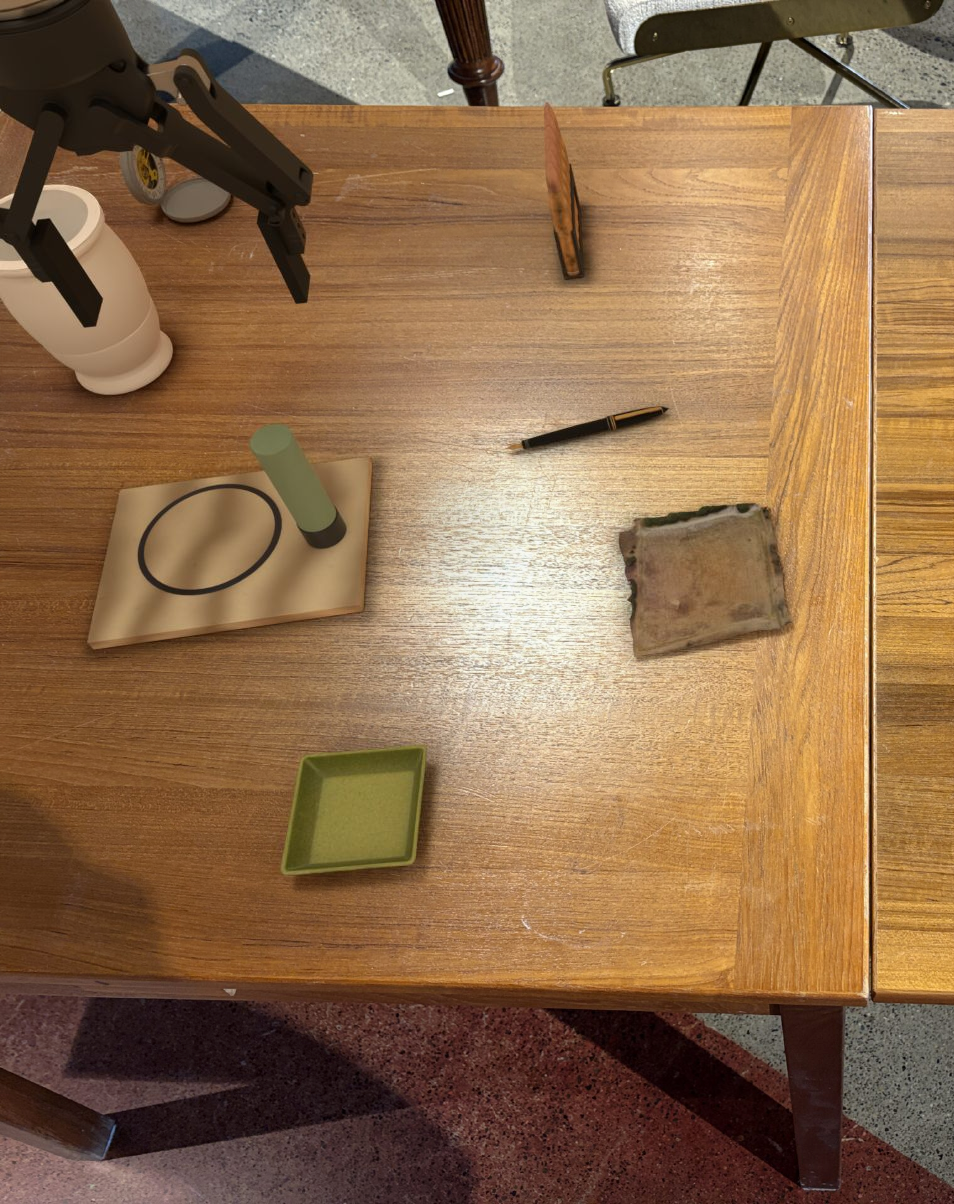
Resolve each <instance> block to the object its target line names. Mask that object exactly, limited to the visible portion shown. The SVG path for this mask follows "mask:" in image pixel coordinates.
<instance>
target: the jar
mask: <svg viewBox="0 0 954 1204" xmlns="http://www.w3.org/2000/svg"><path fill="white" fill-rule="evenodd" d="M14 193H15V192H13V193H11V194H8V195H6V196H4V197H1V198H0V208H7V209H9V208H10V205H11V202H12V199H13V196H14ZM46 218H50V219H51V221H52V222H53V224H54V225H55V227H56V228H57V230H58V231H59V233H60V234H61V236H62V237H63V239H64V240H65V242H66V243H67V245H68V246H69V248H70V249H71V251H72V252H73V254H74V255H75V257H76V258H77V260H78V261H79V263H80V264H81V266H82V267H83V269H84V270H85V272H86V273H87V275H88V276H89V278H90V279H91V281H92V283H93V284H94V286H95V287H96V289H97V290H98V292H99V293H100V295H101V296H102V298H103V302H102V305H101V309H100V313H99V317H98V321H97V325H96V327H87V328H84V327H83V325H82V324H81V323H80V321H79V320H78V318H77V317H76V315H75V314H74V313H73V311H72V310H71V308H70V307H69V305H68V304H67V303H66V301H65V300H64V298H63V297H62V295H61V294H60V293H59V291H58V290H57V288H56V287H55V285H54V284H53V283H52V282H45V283H42V282H41V281H39V280H38V279H37V278H36V277H34V275H33V274H32V272H31V271H30V269H29V268H28V267H27V265H26V264H25V262H24V261H23V260H22V258H21V257H20V255H19V254H18V253H17V251H16V250H15V248H14V247H13V246H12V245H10V244H8V243H6V242H5V241H4V240H3V239H0V300H1V301H2V303H3V304H4V307H6V309H7V311H8V312H9V313H10V314H11V316H12V317H13V318H14V319H15V320H16V321H17V323H18V324H19V325H20V326H21V327H22V328H23V329H24V330H25V331H26V332H27V333H28V334H29V335H30V336H31V337H32V338H33V339H34V340H35V341H36V342H38V343H39V344H40V345H41V346H42V347H43V348H44V349H45V350H46V351H47V352H48V353H49V354H50V355H51V356H53V358H55V359H56V360H57V361H59V362H60V363H61V364H63V365H64V366H66V367H67V368H69V369H71V370H72V371H74V373H75V377H76V380H77V381H78V382H79V384H80V385H81V386H82V387H83V388H84V389H86V390H87V391H89V392H91V393H94V394H99V395H104V396H105V395H106V396H113V395H114V396H116V395H123V394H127V393H132V392H134V391H137V390H139V389H142V388H144V387H146V386H148V385H149V384H151V383H153V382H154V381H155V380H156V379H157V378H159V377H160V376H161V375H162V374H163V373H164V372H165V371H166V369H167V368H168V366H169V365H170V363H171V361H172V358H173V353H174V348H173V343H172V340H171V339H170V338H169V336H168V335H167V334H166V333H165V332H164V331H162V330H161V327H160V319H159V314H158V310H157V308H156V305H155V303H154V300H153V298H152V295H151V294H150V292H149V289H148V285H147V282H146V281H145V278H144V276H143V273H142V272H141V269H140V268H139V265H138V263H137V262H136V260H135V258H134V257H133V255H132V253H131V252H130V251H129V249H128V248H127V246H126V245H125V244H124V242H123V241H122V239H121V238H120V237H119V236H118V235H117V234H116V232H114V230H113V229H112V228H111V227H110V226H109V225H108V224H107V223H106V219H105V213H104V210H103V208H102V206H101V205H100V203H99V201H98V199H97V198H96V197H95V196H94V195H93V194H92V193H90V192H89V191H88V190H86V189H84V188H81V187H78V186H74V185H70V184H69V185H68V184H44V187H43V190H42V193H41V196H40V199H39V201H38V204H37V207H36V210H35V213H34V216H33V219H32V221H33V223H34V224H35V225H36V222H37V219H46Z"/></svg>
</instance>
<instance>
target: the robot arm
mask: <svg viewBox="0 0 954 1204" xmlns="http://www.w3.org/2000/svg"><path fill="white" fill-rule="evenodd" d="M159 91H160V92H161V91H162V92H166V93H168V94H170V95H171V96H172V97H173V98H174V99H175V102H176V103H177V104H178V105H179V106H180V107H186V106H188V108H189V109H190V111H191V112H192V113H193V114H194V115H195V117H197V119H198V120H200V122H202V124H204V126H206V127H207V128H208V129H209V130H210V131H211V132H213V133H214V134H215V135H216V136H217V137H218V138H219V139H220V140H221V141H220V140H219V139H217V138H216V137H214V136H212V135H211V134H210V133H207V132H206V131H204V130H202V129H201V128H199V127H198V126H196V125H194V124H193V123H191V122H190V121H188V120H186V119H185V118H184V117H183V115H182V113H181V112H180V111H179V110H178V109H177V108H176V107H174V106H172V105H171V104H170V103H168V102H166V101H165V100H163V99H161V98H160V97H159V96H157V94H158V92H159ZM0 111H2V112H3V113H4V114H5V115H7V116H9V117H10V118H12V119H14V120H15V121H17V122H18V123H20V124H21V125H24V126H25V127H27V128H28V129H30V130H31V131H33V134H32V137H31V140H30V144H29V147H28V150H27V153H26V156H25V159H24V162H23V166H22V168H21V172H20V175H19V178H18V181H17V183H16V187H15V190H14V192H13V193H14V196H13V199H12V202H11V205H10V208H9V209H7V208H0V239H3V240H4V241H5V242H6V243H8V244H10V245H12V246H13V247H14V248H15V250H16V251H17V253H18V254H19V255H20V257H21V258H22V260H23V261H24V262H25V264H26V265H27V267H28V268H29V269H30V271H31V272H32V274H33V275H34V277H36V278H37V279H38V280H39V281H41V282H42V283H45V282H52V283H53V284H54V285H55V287H56V288H57V290H58V291H59V293H60V294H61V295H62V297H63V298H64V300H65V301H66V303H67V304H68V305H69V307H70V308H71V310H72V311H73V313H74V314H75V315H76V317H77V318H78V320H79V321H80V323H81V324H82V325H83V327H84V328H87V327H96V325H97V321H98V317H99V313H100V309H101V305H102V302H103V298H102V296H101V295H100V293H99V292H98V290H97V289H96V287H95V286H94V284H93V283H92V281H91V279H90V278H89V276H88V275H87V273H86V272H85V270H84V269H83V267H82V266H81V264H80V263H79V261H78V260H77V258H76V257H75V255H74V254H73V252H72V251H71V249H70V248H69V246H68V245H67V243H66V242H65V240H64V239H63V237H62V236H61V234H60V233H59V231H58V230H57V228H56V227H55V225H54V224H53V222H52V221H51V219H50V218H46V219H37V222H36V225H35V224H34V223H33V221H32V219H33V216H34V213H35V210H36V207H37V204H38V201H39V199H40V196H41V193H42V190H43V187H44V185H46V181H47V178H48V176H49V172H50V170H51V166H52V164H53V160H54V158H55V154H56V152H57V149H58V147H59V148H60V149H63V150H66V151H68V152H72V153H75V154H76V156H77V157H85V156H86V157H87V156H92V155H95V154H98V153H100V152H105V151H107V152H113V153H120V152H126V151H133V149H134V146H136V145H138V146H140V147H141V148H143V149H145V150H147V151H148V152H150V153H152V154H153V155H155V156H157V157H159V158H162V159H164V158H168V159H171V161H174V162H176V163H177V164H179V165H181V166H182V167H184V168H186V169H188V170H189V171H191V172H193V173H194V174H196V175H198V177H203V178H205V179H206V180H208V181H210V182H211V183H213V184H215V185H216V186H218V187H220V188H222V189H223V190H225V191H227V192H228V193H230V194H231V196H233V197H235V198H237V199H238V200H240V201H242V202H244V203H245V204H247V205H248V206H250V207H252V208H254V209H255V210H258V211H257V212H258V213H257V219H256V226H257V228H258V229H259V231H260V234H261V235H262V238H263V239H264V241H265V244H266V246H267V248H268V250H269V252H270V254H271V256H272V258H273V260H274V263H275V264H276V266H277V268H278V270H279V272H280V275H281V277H282V278H283V280H284V283H285V285H286V287H287V289H288V291H289V294H290V295H291V297H292V299H293V301H294V303H295V305H301V304H308V301H309V291H310V283H311V274H310V271H309V270H308V267H307V265H306V263H305V261H304V259H303V256H302V255H305V252H306V243H307V231H306V230H305V227H304V225H303V223H302V221H301V218H300V216H299V214H298V212H297V210H296V207H297V206H298V207H306V206H309V204H310V203H311V201H312V193H313V186H314V185H313V184H314V172H313V170H312V169H311V168H310V167H308V166H307V164H305V163H304V162H303V161H302V160H301V159H300V158H299V157H298V156H297V155H296V154H295V153H293V151H291V149H289V148H288V147H287V146H286V145H285V144H284V143H283V142H282V141H281V140H280V139H279V138H278V137H277V136H275V135H274V134H273V133H272V132H271V131H270V130H269V129H268V128H267V127H266V126H265V125H264V124H262V122H261V121H259V120H258V118H256V117H255V116H254V115H253V114H252V113H251V112H250V111H248V109H246V108H245V107H244V106H243V105H242V104H241V103H240V102H239V101H238V100H237V99H235V97H234V96H232V94H230V92H229V91H227V90H226V89H225V88H224V87H223V86H222V85H221V84H220V83H218V81H217V79H216V78H215V76H214V74H213V73H212V71H211V70H210V67H209V66H208V64H207V62H206V61H205V58H203V55H202V54H201V53H200V52H199V51H198V50H197V49H194V48H191V47H184V48H182V49H181V50H180V51H179V53H178V57H177V59H174V60H170V61H164V62H160V63H155V64H150V63H149V62H147V61H146V60H145V59H143V58H142V57H141V55H140V54H139V53H138V52H137V50H135V48H134V46H133V44H132V42H131V39H130V37H129V35H128V33H127V30H126V28H125V25H124V24H123V22H122V20H121V18H120V16H119V14H118V12H117V9H116V8H115V6H114V4H113V2H112V1H111V0H0ZM150 120H152V121H154V122H155V123H156V125H157V129H155V128H153V127H151V126H150V125H149V123H150Z"/></svg>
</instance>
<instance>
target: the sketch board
mask: <svg viewBox="0 0 954 1204" xmlns="http://www.w3.org/2000/svg"><path fill="white" fill-rule="evenodd" d="M372 463H373V462H372V461H371V458H370V457H369V456H365V457H357V458H356V457H355V458H347V459H343V460H342V459H341V460H334V461H325V462H320V463H319V462H318V463H312V464H311V463H310V465H311V466H312V468H313V470H314V472H315V473H316V475H317V477H318V479H319V481H320V482H321V484H322V486H323V488H324V489H325V491H326V493H327V495H328V497H329V498H330V500H331V502H332V504H333V505H334V506H335V507H336V508H337V510H338V512H339V513H340V515H341V517H342V519H343V521H344V522H345V524H346V534H345V536H344V538H343V539H342V540H341V541H340V542H339V543H338V544H336V545H334V546H332V547H329V548H325V549H318V548H314V547H312V546H310V545H309V544H308V543H307V542H306V540H305V538H304V537H303V535H302V534H301V532H300V530H299V529H298V527H297V524H296V521H295V520H294V518H293V516H292V515H291V513H290V512H289V510H288V508H287V507H286V505H285V503H284V502H283V500H282V499H281V497H280V495H279V494H278V492H277V490H276V489H275V487H274V486H273V484H272V482H271V481H270V479H269V477H268V476H267V474H266V473H265V471H264V470H258V471H251V472H250V471H249V472H241V473H236V474H235V473H234V474H229V475H228V474H227V475H220V476H214V477H213V476H212V477H205V478H198V479H197V478H196V479H190V480H181V481H174V482H168V483H160V484H151V485H146V486H137V487H129V488H123V489H119V493H118V496H117V497H118V498H117V503H116V506H115V512H114V516H113V520H112V525H111V530H110V535H109V539H108V543H107V548H106V552H105V557H104V562H103V567H102V571H101V575H100V580H99V585H98V589H97V594H96V598H95V602H94V603H95V604H94V608H93V613H92V619H91V621H90V626H89V630H88V637H87V640H86V643H87V645H88V646H89V647H90V648H91V649H93V650H99V649H100V650H101V649H106V648H107V649H108V648H115V647H121V646H129V645H137V644H144V643H149V642H156V641H163V640H164V641H165V640H170V639H177V638H184V637H191V636H198V635H199V636H200V635H205V634H215V633H221V632H229V631H234V630H243V629H248V628H255V627H263V626H269V625H275V624H276V625H277V624H285V623H291V622H298V621H303V620H311V619H318V618H325V617H332V616H339V615H347V614H354V613H360V612H361V613H362V612H364V610H365V609H364V607H365V593H366V592H365V591H366V575H367V574H366V573H367V559H368V558H367V557H368V539H369V525H370V510H371V509H370V507H371V492H372V491H371V490H372V473H373V464H372Z"/></svg>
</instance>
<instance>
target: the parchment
mask: <svg viewBox="0 0 954 1204" xmlns="http://www.w3.org/2000/svg"><path fill="white" fill-rule="evenodd" d="M771 512H772V508H770V507H768V506H761V505H760V504H758V503H756V502H744V503H736V504H720V505H703V506H701V507H700V508H699V509H698V510H692V511H675V512H668V513H667V515H665V516H655V517H649V516H648V517H639V518H638V517H636V518H634V519H633V520H632V522H634V524H635V525H634V526H633V527H632V528H631V529H629V530H624V531H621V532H619V535H618V547H619V550H620V552H621V554H622V555H623V563H624V565H625V567H624V575H625V578H626V581H627V582H629V581H630V582H631V583H630V590H631V594H630V596H629V597H628V598H627V599H626V600H627V601H628V602H629V603H631V606H632V607H631V613H630V616H629V627H630V633H631V636H632V649H633V650H632V651H633V656H634V657H639V656H648V655H654V654H662V653H669V652H676V651H681V650H686V649H690V648H694V647H697V646H702V645H703V646H704V645H706V644H711V643H715V642H718V641H723V640H726V639H729V638H732V637H735V636H740V635H743V634H747V633H753V632H756V631H757V632H758V631H772V630H784V629H785V626H786V625H789V623H792V624H793V620H792V617H791V614H790V611H789V609H788V608H787V605H786V596H785V589H784V586H783V585H784V580H783V570H784V567H781V565H780V564H779V563H781V561H782V560H781V559H782V557H781V556H780V554H778V552H777V551H776V550H775V547H776V546H777V540H776V537H775V534H774V530H773V525H772V518H771V517H770V516H769V515H770V514H771Z"/></svg>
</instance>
